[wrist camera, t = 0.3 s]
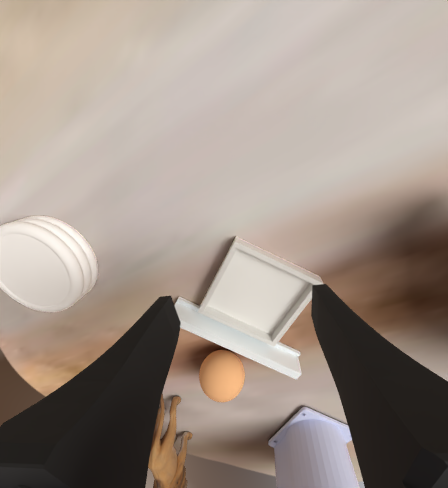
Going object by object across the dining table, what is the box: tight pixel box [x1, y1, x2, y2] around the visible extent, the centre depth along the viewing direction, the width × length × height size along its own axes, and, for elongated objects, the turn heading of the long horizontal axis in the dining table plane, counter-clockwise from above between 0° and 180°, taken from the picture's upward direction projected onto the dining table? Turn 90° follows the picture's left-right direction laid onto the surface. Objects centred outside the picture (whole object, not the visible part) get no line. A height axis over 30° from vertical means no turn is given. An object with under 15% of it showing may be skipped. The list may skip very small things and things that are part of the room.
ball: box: [199, 350, 245, 402], centre depth 25 cm, size 5×5×5 cm
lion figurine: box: [148, 394, 192, 488], centre depth 29 cm, size 15×5×9 cm, turn 16°
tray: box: [198, 236, 323, 347], centre depth 23 cm, size 9×9×1 cm
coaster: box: [0, 216, 98, 313], centre depth 24 cm, size 10×10×4 cm
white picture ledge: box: [174, 297, 302, 380], centre depth 25 cm, size 2×15×2 cm, turn 66°
